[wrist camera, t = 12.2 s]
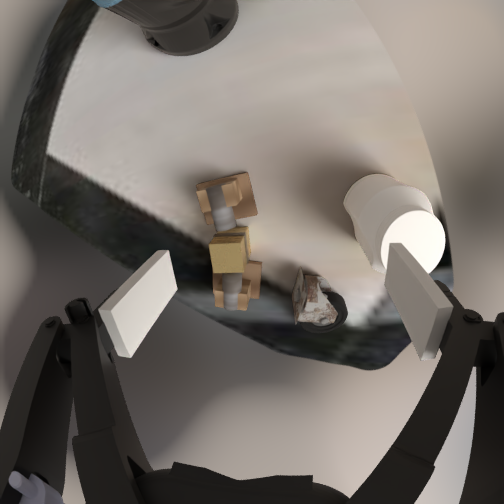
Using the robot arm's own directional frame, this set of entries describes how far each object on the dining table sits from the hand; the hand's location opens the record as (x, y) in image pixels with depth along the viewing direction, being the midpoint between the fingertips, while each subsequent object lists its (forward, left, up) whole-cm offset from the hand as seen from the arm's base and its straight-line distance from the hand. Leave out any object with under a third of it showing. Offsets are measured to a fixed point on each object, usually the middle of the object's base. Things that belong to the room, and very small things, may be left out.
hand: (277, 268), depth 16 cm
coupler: (+8, -9, -27) cm, 29 cm away
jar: (+4, +14, -27) cm, 31 cm away
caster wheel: (+19, +5, -27) cm, 34 cm away
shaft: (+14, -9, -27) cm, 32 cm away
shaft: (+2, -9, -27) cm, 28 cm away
